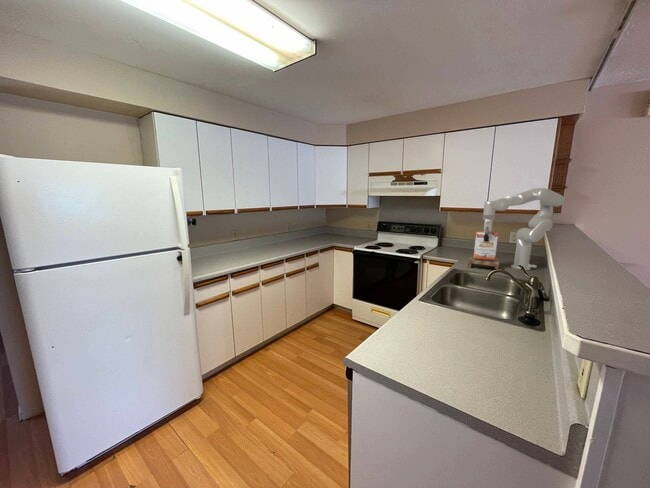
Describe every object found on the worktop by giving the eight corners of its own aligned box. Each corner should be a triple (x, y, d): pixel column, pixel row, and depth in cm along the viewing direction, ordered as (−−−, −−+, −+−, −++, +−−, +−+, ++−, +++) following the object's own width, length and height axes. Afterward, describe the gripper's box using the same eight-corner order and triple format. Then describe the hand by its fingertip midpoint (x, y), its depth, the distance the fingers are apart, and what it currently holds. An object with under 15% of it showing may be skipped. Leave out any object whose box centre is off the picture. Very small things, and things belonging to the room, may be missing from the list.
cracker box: (474, 258, 208) (477, 232, 204) (473, 257, 213) (475, 231, 210) (495, 260, 203) (498, 233, 199) (493, 258, 209) (496, 232, 205)
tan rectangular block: (497, 267, 210) (498, 260, 209) (497, 271, 198) (498, 264, 197) (469, 263, 221) (470, 256, 220) (467, 267, 209) (468, 260, 208)
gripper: (494, 218, 193) (491, 242, 196) (494, 216, 207) (492, 239, 211) (482, 218, 197) (479, 241, 200) (483, 216, 211) (481, 238, 215)
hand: (486, 240), depth 205 cm, fingers closed on cracker box, 6 cm apart
